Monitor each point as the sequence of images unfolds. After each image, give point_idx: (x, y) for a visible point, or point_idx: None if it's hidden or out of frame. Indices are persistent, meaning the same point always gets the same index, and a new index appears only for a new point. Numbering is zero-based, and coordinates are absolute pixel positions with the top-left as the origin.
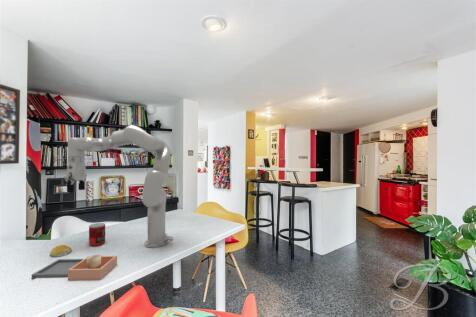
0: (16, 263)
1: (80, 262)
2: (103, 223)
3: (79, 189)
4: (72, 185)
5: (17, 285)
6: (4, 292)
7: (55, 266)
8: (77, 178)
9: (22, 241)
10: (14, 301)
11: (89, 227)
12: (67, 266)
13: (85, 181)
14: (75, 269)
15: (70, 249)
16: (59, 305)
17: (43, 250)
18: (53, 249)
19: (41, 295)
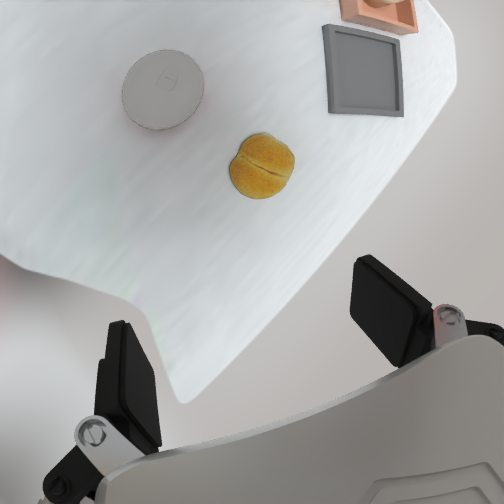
0: (326, 231)
1: (390, 19)
2: (130, 75)
3: (149, 366)
4: (421, 306)
5: (412, 125)
6: (427, 128)
7: (358, 98)
8: (480, 364)
9: (181, 371)
10: (443, 90)
11: (195, 109)
12: (357, 66)
13: (75, 435)
14: (415, 18)
15: (258, 135)
16: (443, 20)
17: (238, 249)
18: (279, 185)
19: (432, 58)
